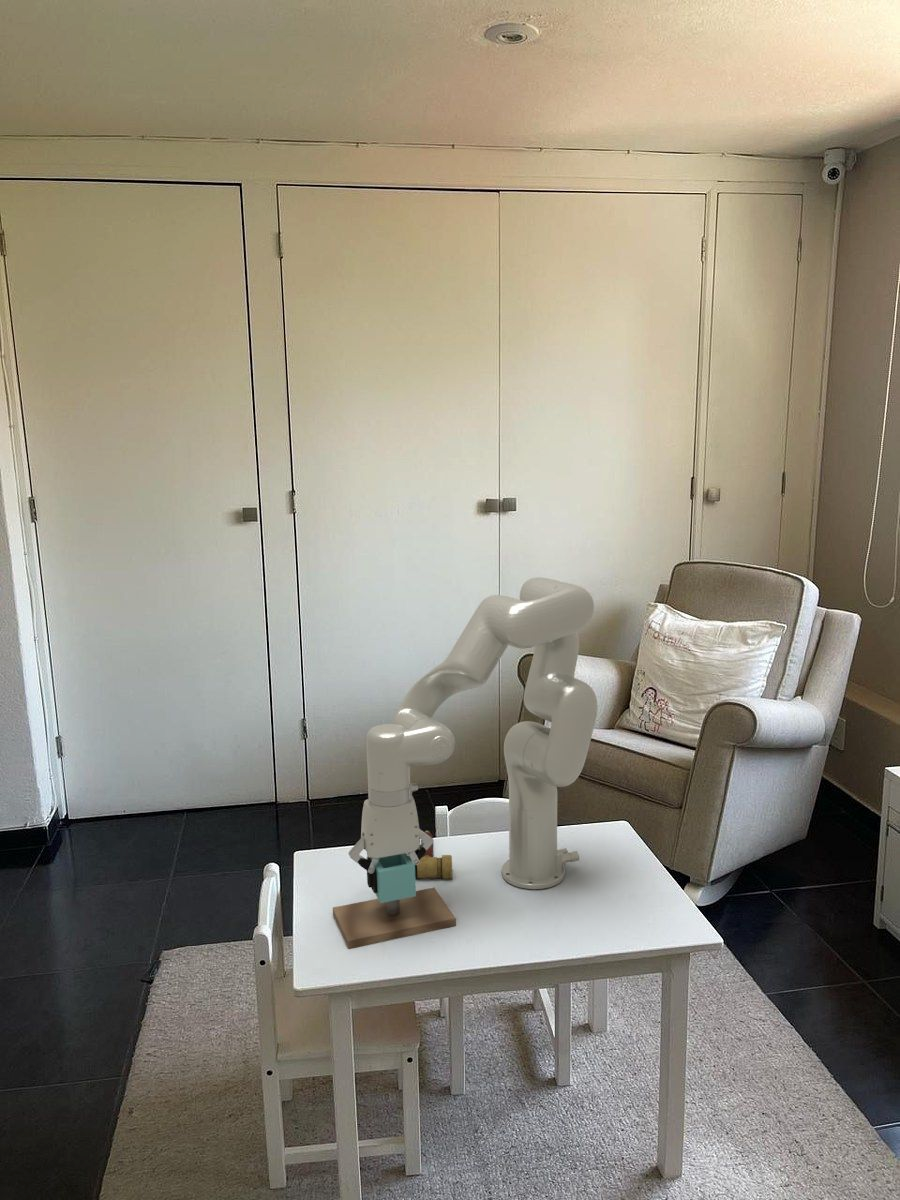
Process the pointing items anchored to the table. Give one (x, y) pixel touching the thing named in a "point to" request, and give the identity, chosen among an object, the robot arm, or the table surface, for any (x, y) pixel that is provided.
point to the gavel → (434, 864)
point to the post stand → (392, 918)
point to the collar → (395, 878)
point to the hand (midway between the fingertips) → (392, 885)
